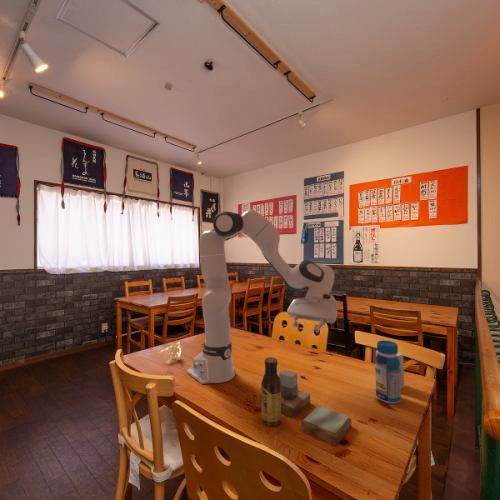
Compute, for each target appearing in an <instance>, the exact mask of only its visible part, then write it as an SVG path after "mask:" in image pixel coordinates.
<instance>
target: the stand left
mask: <svg viewBox="0 0 500 500" xmlns="http://www.w3.org/2000/svg"><path fill="white" fill-rule="evenodd" d="M310 404H311V394H310V393H307V392H304V391H301V390H298V396H297V397H296V398H294V399H293V400H289V399H286V398H284V397H281V413H283V414H286V415H287V416H289V417H292V418H295V417H297V415H298V414H300V413H301V412H303V410H304V409H306V407H308V406H309V405H310Z"/></svg>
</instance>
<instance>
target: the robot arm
mask: <svg viewBox="0 0 500 500" xmlns="http://www.w3.org/2000/svg"><path fill="white" fill-rule="evenodd" d="M212 221H213V222H212V227H213V228H212V229H207V230H205V231H203V232H202V233H201V234H200V236H199V245H198V246H199V249H198V251H199V258H200V259H199V260H200V270H201V276H202V278H203V281H204V286H205V291H206V292H204V294H203V296H202V297H201V309H202V315H203V321H204V336H205V337H204V339H205V340H204V341H205V342H204V343H201V345H200V346H201V348H202V347H203V349H202V351H200V353H199V354H197V355H196V356H194V358H193V360H192V366H190V367H189V368H188V369H187V370H186V373H187V375H189V376H191V377H192V378H194V379H195V380H196V381H198V382H199V383H200V384H203V385H205V384H221V383H225V382H228V381H231V380H233V379H234V378H235V376H236V373H235V366H234V362H233V354H232V352H233V351H232V350H233V345H232V340H231V338H232V337H231V321H230V312H229V310H230V309H229V307H230V306H229V305H230V303H231V301H232V291H231V284H230V280H229V275H228V269H227V267H228V266H227V257H226V251H225V243H226V242H227V241H229V240H230V239H233V238H235V237H237V236H238V235H239V234H240V233H241V234H242V233H243V234H245V235H247V236H248V238H250V240H252V241H253V242H254V243H255V244H256V246H257V247H258V248H259V250H260V251H261V253H262V255H263V257H264V258H265V260H266V261H267V262H268V263H269V265H270V266H271V268H273V269H274V270H275V272H276V273H277V275H279V277H280V278H281V279H282V281H283V283H284V285H285V287H287V289H288V290H290V291H292V292H294V293H295V292H300V291H302V290H303V289H305V288H306V287H308V289H307V291H306V295H305V297H296V298H294V299H292V301H291V303H290V305H289V307H288V308H287V310H286V313H287V314H288V315H289V317H290V318H293V319H292V321H293V322H292V327H293V328H298V327H299V322H298V321H299V319H301V320H308V321H313V322H314V321H315V322H318V324H314V327H313V329H314V331H316V332H320V331H321V328H323V327H324V326H325V324H326V323H328V324H334V323H335V322H336V321H337V317H338V308H339V304H338V302H337V300H336V298H335V296H334V295H331V294H330V292H331V291H332V289H333V285H334V283H335V271H334V270H333V268H331V267H330V266H329V265H325V264H317V263H315V262H313V261H311V260H308V259H304V260H302V261H300V262H299V263H297V264H296V265H295V266H294V267H291V266H290V265H289V264H288V263H287V262H286V260H285V259H284V258H283V257H282V256H281V254H280V252H279V246H280V239H281V237H280V231H279V230H278V229H277V227H276V226H275V225H274V224H273V223H272V222H271V221H270V220H269V219H268V218H266V217H265V216H263V214H261V213H259V212H258V211H257V210H255V209H247V210H246V211H244V212H243V213H242V214H240V213H237V212H233V211H228V210H227V211H226V210H225V211H221V212H218V213H217V214H216V215H215V216H214V218H213V220H212Z"/></svg>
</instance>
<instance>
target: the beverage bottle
mask: <svg viewBox="0 0 500 500" xmlns="http://www.w3.org/2000/svg"><path fill="white" fill-rule="evenodd" d="M398 349H399V348H398V343H396V342H394V341H391V340H378V341H377V343H376V351H377V350H378V352H379V353H378V354H377V356H376V355H375V359H374V361H375V366H374V370H375V397H376V398H377V399H379V400H380V401H381V402H384V403H387V404H393V405H394V404H395V405H396V404H398V403H400V402H401V401H402V395H401V393H402V391H401V389H402V388H401V385H400V374H401V369H400V367H399V366H400V361H399V359H398V357H397V356H396V355H397V353H399V351H398Z"/></svg>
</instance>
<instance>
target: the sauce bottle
mask: <svg viewBox="0 0 500 500" xmlns="http://www.w3.org/2000/svg"><path fill="white" fill-rule="evenodd" d="M264 367H265V368H264V374H263V377H262V380H261V383H260V384H261V386H260V387H261V388H260V389H261V390H260V392H261V393H260V394H261V402H260V405H261V408H260V409H261V410H260V411H261V420H262V423H263V424H264V425H266V426H270V427H275V426H278V425H280V423H281V420H282V412H281V381H280V378H279V374H278V359H277V358H276V357H270V356H269V357H266V358H264Z"/></svg>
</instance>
